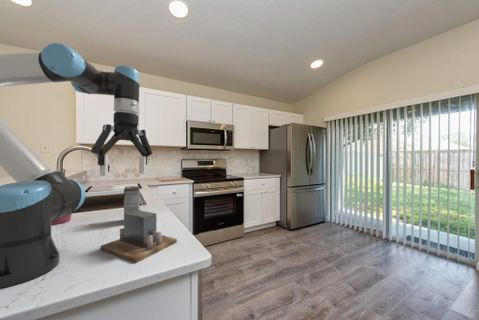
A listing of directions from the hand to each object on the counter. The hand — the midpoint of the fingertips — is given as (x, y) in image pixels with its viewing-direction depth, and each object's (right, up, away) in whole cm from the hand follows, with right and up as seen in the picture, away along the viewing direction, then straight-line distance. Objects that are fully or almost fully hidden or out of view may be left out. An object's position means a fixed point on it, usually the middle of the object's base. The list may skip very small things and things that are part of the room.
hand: (124, 174), depth 70 cm
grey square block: (+6, -23, -1) cm, 24 cm away
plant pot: (-45, -24, +24) cm, 56 cm away
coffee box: (-11, -24, +26) cm, 37 cm away
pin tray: (+6, -25, -1) cm, 25 cm away
